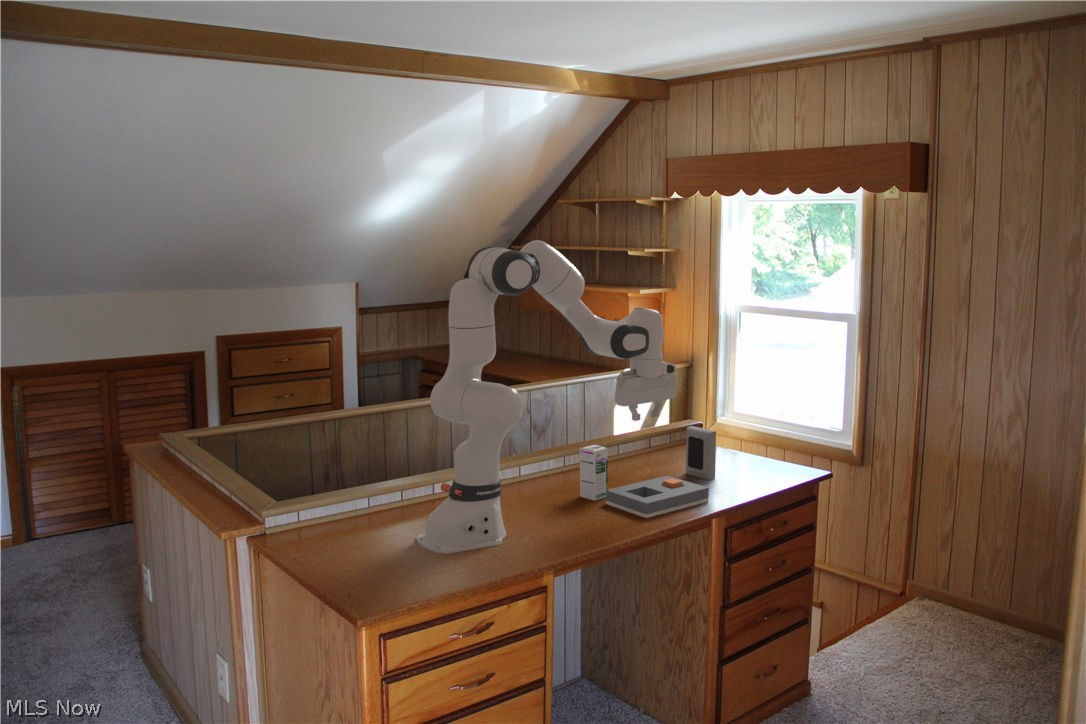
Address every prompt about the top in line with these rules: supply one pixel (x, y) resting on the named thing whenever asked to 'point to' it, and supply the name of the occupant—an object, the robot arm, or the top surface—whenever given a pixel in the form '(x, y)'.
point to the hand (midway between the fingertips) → (645, 418)
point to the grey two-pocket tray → (656, 497)
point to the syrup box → (593, 472)
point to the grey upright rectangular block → (700, 452)
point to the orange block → (672, 483)
